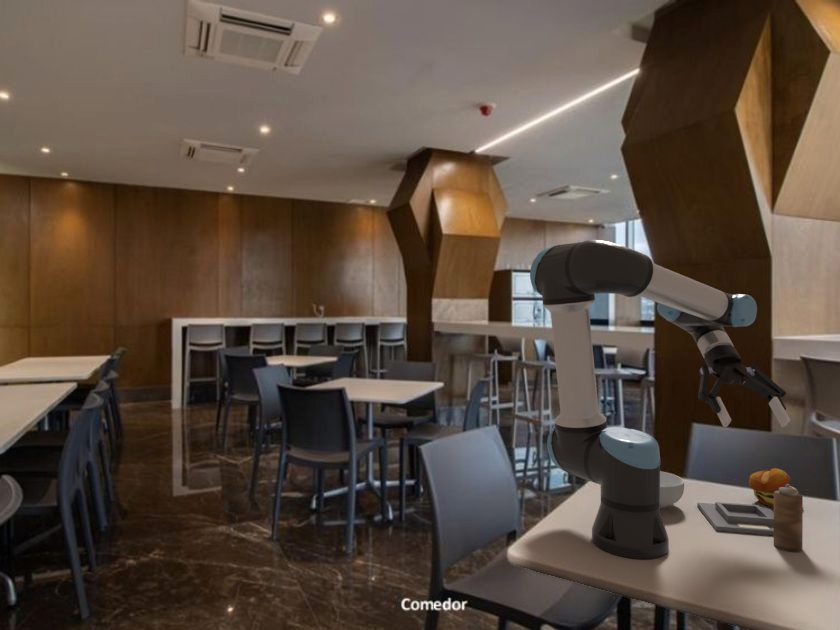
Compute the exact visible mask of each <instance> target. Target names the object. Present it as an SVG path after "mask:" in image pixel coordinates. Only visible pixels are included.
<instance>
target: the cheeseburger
mask: <svg viewBox="0 0 840 630" xmlns="http://www.w3.org/2000/svg"><path fill="white" fill-rule="evenodd" d="M790 482H791V476H790V475H788V473H787V472H786V471H784V470H782V469H779V468H776V467H774V468H771V469H766V470H760V471H756V472H753V473H752V474H750V475H749V480H748V485H749V487H750V488H751V489H752V490H753V494H754V497H755V498H756V499H757V501H758V502H760V503H761V504H763V505H764V506H768V507H769V508H774V491H779V488H780V487H788V488H793V489H796V490H797V493H798V494H799V491H798V489H797V488H796V487H794V486H791V485H790V484H789V483H790Z"/></svg>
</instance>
